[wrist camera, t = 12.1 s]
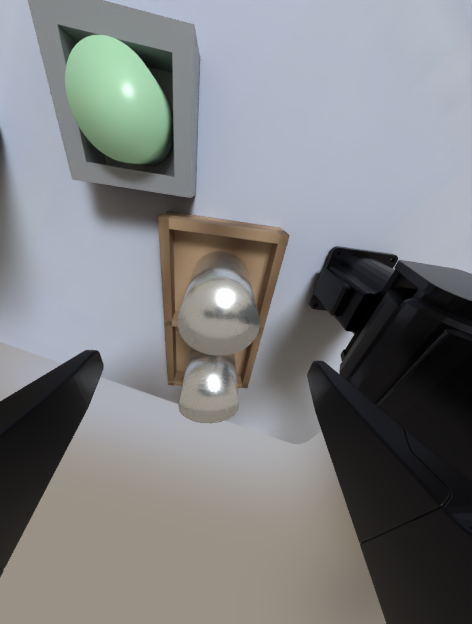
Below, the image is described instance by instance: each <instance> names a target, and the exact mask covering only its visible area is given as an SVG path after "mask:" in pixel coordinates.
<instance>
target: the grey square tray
mask: <svg viewBox="0 0 472 624" xmlns="http://www.w3.org/2000/svg"><path fill="white" fill-rule="evenodd" d="M28 3H29V7H30V11H31V15H32V19H33V23H34V27H35V31H36V35H37V39H38V43H39V47H40V51H41V55H42V59H43V63H44V67H45V71H46V75H47V79H48V83H49V87H50V91H51V96H52V100H53V104H54V108H55V112H56V116H57V120H58V124H59V128H60V132H61V136H62V140H63V144H64V148H65V152H66V156H67V160H68V164H69V168H70V172H71V176H72V179H73V180H80V181H86V182H92V183H99V184H105V185H111V186H118V187H124V188H130V189H137V190H143V191H150V192H156V193H162V194H169V195H175V196H181V197H188V198H191V197H193V196H195V195H196V171H197V139H198V107H199V75H200V54H199V49H198V43H197V38H196V32H195V27H194V24H190V23H186V22H183V21H179V20H175V19H171V18H168V17H164V16H160V15H156V14H152V13H149V12H145V11H141V10H137V9H134V8H130V7H126V6H122V5H119V4H115V3H111V2H107V1H103V0H28ZM92 35H106V36H110V37H113V38H115V39H117V40H119V41H121V42H123V43H124V44H125V45H127V46H128V47H130V48H131V49H132V50H133V51H134V52H135V53H136V54H137V55H138V56H139V57H140V59H141V60H142V61H143V62H144V64H145V65H146V67H147V68H148V69H149V71H150V72H151V74H152V75H153V77H154V78H155V80H156V81H157V83H158V84H159V86H160V87H161V89H162V90H163V92H164V93H165V95H166V97H167V98H168V101H169V103H170V105H171V108H172V111H173V122H174V144H173V147H172V149H171V151H170V153H169V155H168V156H167V157H166V158H165V159H164V160H163V161H162V162H160V163H158V164H156V165H151V166H144V165H138V164H131V163H125V162H121V161H117V160H114V159H112V158H110V157H108V156H106V155H105V154H104V153H102V152H101V151H99V150H98V149H97V148H96V147H95V146H94V145H93V144H92V143H91V142H90V141H89V140H88V139H87V137H86V136H85V135H84V133H83V132H82V130H81V129H80V127H79V126H78V124H77V122H76V120H75V118H74V116H73V114H72V111H71V108H70V106H69V102H68V98H67V93H66V87H65V70H66V64H67V61H68V57H69V55H70V53H71V51H72V49H73V48H74V47H75V45H76V44H77V43H78V42H79V41H81V40H82V39H84V38H86V37H88V36H92Z"/></svg>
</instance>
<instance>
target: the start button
mask: <svg viewBox="0 0 472 624" xmlns="http://www.w3.org/2000/svg"><path fill="white" fill-rule="evenodd" d="M65 87H66V93H67V98H68V102H69V106H70V108H71V111H72V114H73V116H74V118H75V120H76V122H77V124H78V126H79V127H80V129H81V130H82V132H83V133H84V135H85V136H86V137H87V139H88V140H89V141H90V142H91V143H92V144H93V145H94V146H95V147H96V148H97V149H98V150H99V151H101V152H102V153H104V154H105V155H106V156H108V157H110V158H112V159H114V160H117V161H121V162H125V163H131V164H138V165H144V166H151V165H156V164H158V163H160V162H162V161H163V160H164V159H165V158H166V157H167V156H168V155H169V153H170V151H171V149H172V147H173V144H174V122H173V111H172V108H171V105H170V103H169V101H168V98H167V97H166V95H165V93H164V92H163V90H162V89H161V87H160V86H159V84H158V83H157V81H156V80H155V78H154V77H153V75H152V74H151V72H150V71H149V69H148V68H147V67H146V65H145V64H144V62H143V61H142V60H141V59H140V57H139V56H138V55H137V54H136V53H135V52H134V51H133V50H132V49H131V48H130V47H128V46H127V45H125V44H124V43H123V42H121V41H119V40H117V39H115V38H113V37H110V36H106V35H92V36H88V37H86V38H84V39H82V40H81V41H79V42H78V43H77V44H76V45H75V47H74V48H73V49H72V51H71V53H70V55H69V57H68V61H67V64H66V70H65Z"/></svg>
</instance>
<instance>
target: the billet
mask: <svg viewBox="0 0 472 624" xmlns="http://www.w3.org/2000/svg"><path fill="white" fill-rule="evenodd" d="M177 324H178V330H179V333H180V335H181V337H182V338H183V340H184V341H185V342H186V343H187V344H188V345H189V346H190V347H192V348H193V349H195V350H197V351H199V352H201V353H205V354H209V355H216V356H222V355H230V354H234V353H236V352H239V351H241V350H243V349H245V348H246V347H247V346H249V345H250V344H251V343H252V342H253V341H254V339H255V338H256V336H257V334H258V332H259V327H260V319H259V314H258V310H257V306H256V302H255V298H254V294H253V290H252V286H251V282H250V278H249V274H248V270H247V267H246V265H245V264H244V262H243V261H242V260H241V259H240V258H239V257H238V256H236V255H235V254H233V253H230V252H227V251H214V252H210V253H208V254H206V255H204V256H203V257H201V258H200V259H199V260H198V262H197V263H196V265H195V267H194V269H193V272H192V276H191V279H190V282H189V285H188V288H187V291H186V294H185V297H184V300H183V303H182V306H181V309H180V312H179V315H178V321H177Z"/></svg>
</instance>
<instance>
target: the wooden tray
mask: <svg viewBox="0 0 472 624" xmlns="http://www.w3.org/2000/svg"><path fill="white" fill-rule="evenodd" d="M158 224H159V241H160V258H161V274H162V291H163V308H164V324H165V341H166V358H167V374H168V385H183V380H184V375H185V369H186V364H187V359H188V354H189V348H190V346H189V345H188V344H187V343H186V342H185V341H184V340H183V338H182V337H181V335H180V333H179V330H178V324H177V321H178V315H179V312H180V309H181V306H182V303H183V300H184V297H185V294H186V291H187V288H188V285H189V282H190V279H191V276H192V272H193V269H194V267H195V265H196V263H197V262H198V260H199V259H200V258H201V257H203V256H204V255H206V254H208V253H210V252H214V251H227V252H230V253H233V254H235V255H236V256H238V257H239V258H240V259H241V260H242V261H243V262H244V264H245V265H246V267H247V270H248V274H249V278H250V282H251V286H252V290H253V294H254V298H255V302H256V306H257V310H258V314H259V319H260V327H259V332H258V334H257V336H256V338H255V339H254V341H253V342H252V343H251V344H250V345H249V346H247V347H246V348H245V349H243V350H241V351H239V352H236V353H235V364H236V378H237V388H247V387H248V383H249V380H250V376H251V372H252V369H253V365H254V362H255V358H256V354H257V351H258V347H259V344H260V340H261V336H262V333H263V329H264V326H265V322H266V318H267V315H268V311H269V307H270V304H271V300H272V297H273V293H274V289H275V286H276V282H277V279H278V275H279V271H280V268H281V264H282V261H283V257H284V253H285V250H286V246H287V242H288V239H289V235H288V234H287V233H286V232H285V231H284V230H283V229H281V228H278V227H271V226H264V225H257V224H251V223H244V222H237V221H230V220H224V219H217V218H210V217H203V216H196V215H190V214H183V213H176V212H169V211H166V212H165V213H163V214H161V215H160V216H158Z"/></svg>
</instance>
